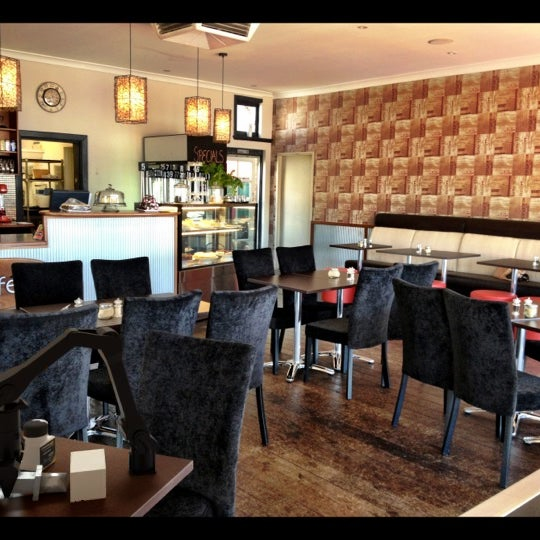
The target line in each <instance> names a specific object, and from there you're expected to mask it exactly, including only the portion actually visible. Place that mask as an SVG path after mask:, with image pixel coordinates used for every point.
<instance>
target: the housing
mask: <svg viewBox="0 0 540 540" xmlns="http://www.w3.org/2000/svg"><path fill="white" fill-rule="evenodd" d="M69 467H70V472H69V479H70V481H69V482H70V483H69V484H70V486H69V488H70V492H69V493H70V494H69V495H70V503H75V501H76V502H81V500H84V501H90V500H99V499H105V498H107V468H106V458H105V448H98V449H97V448H96V449H90V450H78V451H71V452H70V465H69Z"/></svg>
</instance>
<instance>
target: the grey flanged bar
mask: <svg viewBox="0 0 540 540" xmlns="http://www.w3.org/2000/svg"><path fill="white" fill-rule="evenodd" d="M68 475H69V474H68V472H43V470H42V465H37V470H36V471H20V473H19V476H18V478H17V480H16V483H15V485H14V488H13V490H12V493H11V495H12V494H15V495H17V494H33V495H32V501H33V502H35V501H39V495H40V493H66V492H67V486H68V485H67V483H68Z"/></svg>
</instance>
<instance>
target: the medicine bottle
mask: <svg viewBox="0 0 540 540" xmlns="http://www.w3.org/2000/svg"><path fill="white" fill-rule="evenodd" d="M48 424H49V423H48V421H46V420H45V419H40V418H39V419H31V420H28V421H26V422H25V423H24V424H23V432H22V433H23V438H24V439H25V450H24V451H22V449H21V452H24V455H23V459H22V462H21V464H20V471H28V472H36V470H37V465H42V471H44V470H45V469H47V468H48V467H49V466H51V465H52V464H54V462H56V437H55V435H49V425H48Z"/></svg>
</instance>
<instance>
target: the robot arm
mask: <svg viewBox="0 0 540 540" xmlns="http://www.w3.org/2000/svg"><path fill="white" fill-rule="evenodd" d="M76 347H78V348H85V349H91V350H92V349H93V350H97V351H98V354H99V355H100V357H101V358H102V360H103V361H104V363H105V365H106V368H107V372H108V375H109V378H110V381H111V384H112V388H113V391H114V394H115V399H116V402H117V404H118V407H119V410H120V411H119V412H120V418H118V419H115V422H116V424H117V426H118V433H119V435H120V436H121V438H122V439H123V440H124V441H125V442H128V443H129V444H130V451H128V452H127V453H128V455H127V458H128V459H127V460H128V461H127V462H128V465H127V466H128V471H129V472H130V474H131V476H139V475H147V474H155V473H157V466H156V465H157V464H156V462H157V461H156V457H157V456H156V455H157V454H156V453H157V451H158V448H159V444H160V443H159V442H158V441H157V440H156V438H155V437H154V436H152V435H151V431H150V429H149V427H148V425H147V424H146V422H145V420H144V419H143V417H142V415H141V414H140V412H139V410H138V408H137V404H136V401H135V400H136V399H135V397H134V394H133V390H132V387H131V384H130V381H129V378H128V374H127V371H126V368H125V364H124V361H123V360H124V345H123V338H122V336H121V334H120V333H118V332H117V331H116V330H115V329H113V328H111V327H109V326H100V327H99V328H74V327H70V328H67V329H65V331H64V332H63V333H62V334H60V335H59V336H57V337H56V338H55V339H54V340H52V341H51V342H50V343H48V344H47V345H46V346H44V347H43V348H42V349H41V350H39V351H37V353H35V354H34V355H32V356H31V357H30V358H29V359H27V360H26V361H24V362H23V363H21V364H19V365H17V366H14V367H11V368H9V369H7V370H5V371H3V372H2V373H0V490H1V492H2V496H3V498H4V499H5V500H6V499H9V498H10V497H11V495H12V494H11V493H12V490H13V488H14V485H15V483H16V480H17V478H18V476H19V473H20V472H21V469H20V464H21V461H22V459H23V455H24V452H21V449H22V451H24V450H25V439H24V436H21V434H22V427H21V410H22V411H23V410H27V409H29V408H30V406H29V404H28V402H27V401H26V400H24V399H23V398H22V395H23V394H24V393H25V391H27V390H28V388H29V386H30V385H31V384H32V383H33V381H34V380H35V379H36V378H37V377H39V375H41V374H42V373H43V372H44V371H46V370H47V369H49V368H50V367H52V365H54V364H55V363H56V362H58V361H59V360H61V358H63V357H64V356H65V355H66V354H68V353H69V352H71V351H72V350H73V349H74V348H76Z"/></svg>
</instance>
